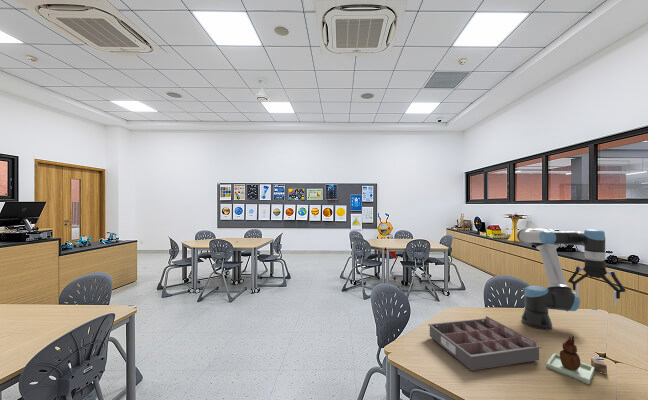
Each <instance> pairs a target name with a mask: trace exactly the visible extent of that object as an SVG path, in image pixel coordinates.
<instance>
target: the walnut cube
mask: <svg viewBox="0 0 648 400" xmlns="http://www.w3.org/2000/svg"><path fill="white" fill-rule="evenodd" d="M590 366H592V367H595V371H596V373H599V372H602V373H601V374H603V373H606V374H605V375H608V365H607V363H605V361H604V360H600V359H595V358H591V359H590Z"/></svg>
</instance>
